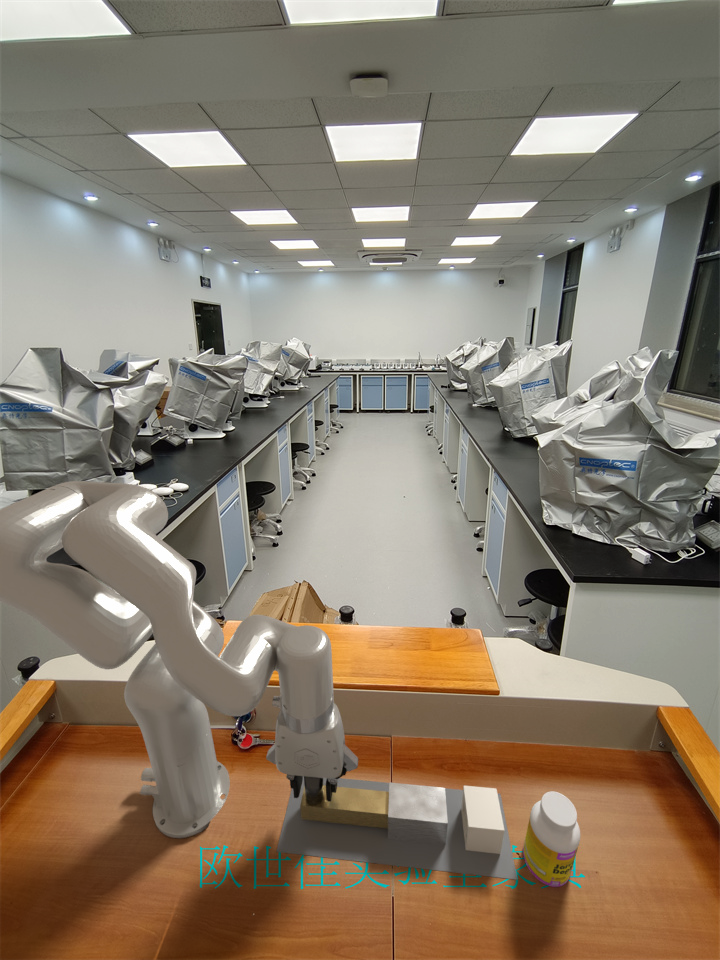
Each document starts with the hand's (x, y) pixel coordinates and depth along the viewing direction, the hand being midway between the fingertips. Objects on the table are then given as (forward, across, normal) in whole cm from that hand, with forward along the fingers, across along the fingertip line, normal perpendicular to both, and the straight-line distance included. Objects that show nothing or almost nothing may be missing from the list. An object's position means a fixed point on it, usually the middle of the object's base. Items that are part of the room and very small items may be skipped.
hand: (314, 789), depth 68 cm
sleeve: (+6, +16, 0) cm, 17 cm away
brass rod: (+6, +9, 0) cm, 11 cm away
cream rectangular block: (+6, +27, 0) cm, 27 cm away
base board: (+7, +13, 0) cm, 15 cm away
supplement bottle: (+7, +36, -3) cm, 37 cm away
